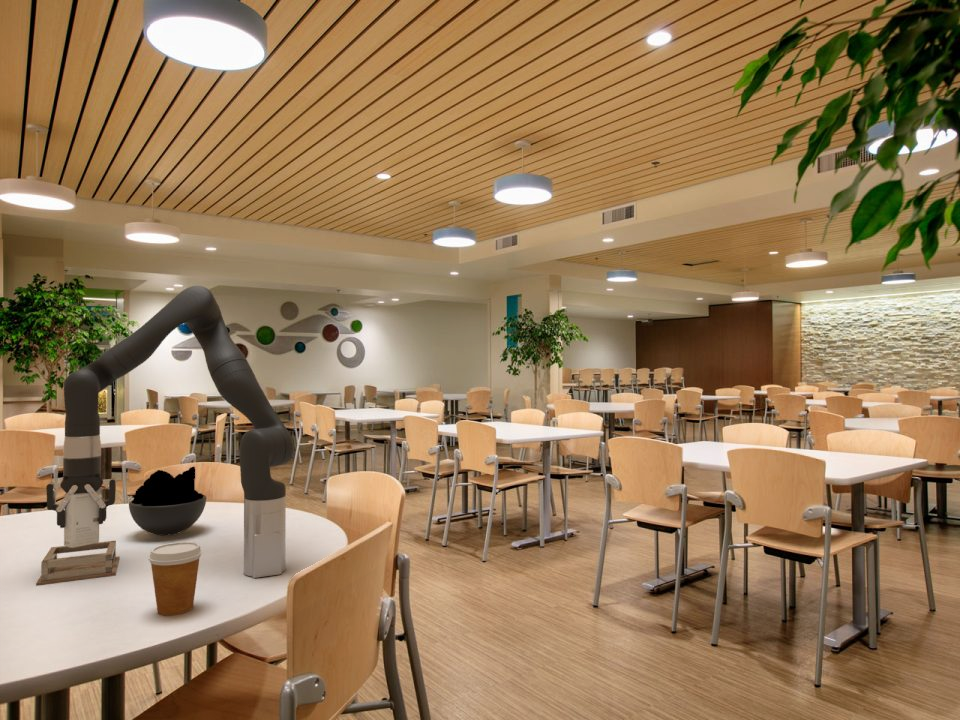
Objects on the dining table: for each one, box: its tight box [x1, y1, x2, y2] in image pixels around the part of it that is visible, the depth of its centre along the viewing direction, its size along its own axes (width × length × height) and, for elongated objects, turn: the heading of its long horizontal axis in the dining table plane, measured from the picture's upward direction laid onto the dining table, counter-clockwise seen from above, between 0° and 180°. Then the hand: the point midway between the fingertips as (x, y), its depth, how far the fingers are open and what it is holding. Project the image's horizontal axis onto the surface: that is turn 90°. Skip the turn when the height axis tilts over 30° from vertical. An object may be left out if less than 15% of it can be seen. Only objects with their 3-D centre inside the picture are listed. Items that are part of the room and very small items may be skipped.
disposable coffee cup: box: [147, 541, 203, 616], centre depth 124 cm, size 10×10×12 cm
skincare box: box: [63, 490, 101, 548], centre depth 148 cm, size 6×4×12 cm
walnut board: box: [35, 555, 121, 586], centre depth 148 cm, size 15×15×1 cm
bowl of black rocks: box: [128, 466, 207, 536], centre depth 181 cm, size 20×20×19 cm
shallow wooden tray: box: [40, 540, 117, 581], centre depth 148 cm, size 13×13×4 cm
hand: (81, 525), depth 148 cm, fingers closed on skincare box, 7 cm apart
